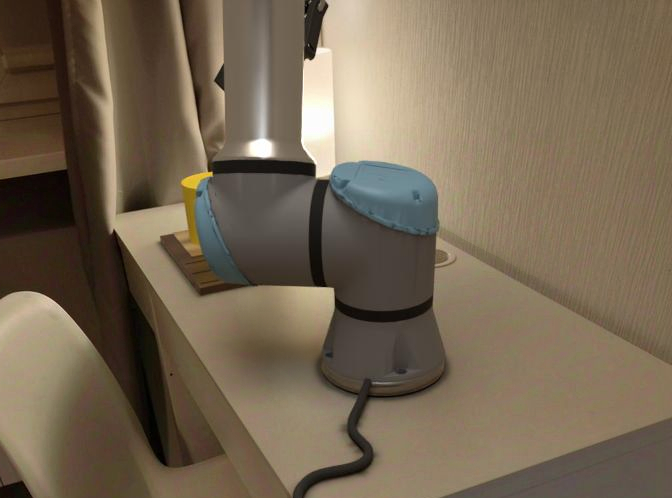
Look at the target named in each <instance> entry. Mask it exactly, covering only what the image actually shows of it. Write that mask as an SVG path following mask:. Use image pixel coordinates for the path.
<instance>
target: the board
mask: <svg viewBox="0 0 672 498" xmlns="http://www.w3.org/2000/svg"><path fill="white" fill-rule="evenodd" d="M159 239H160V243H161V244H162V246H163V247H164V248H165V250H166V251H167V252H168V254H169V255H170V256H171V258H172V259H173V261H174V262H175V263H176V264H177V266H178V267H179V268H180V270H181V271H182V272H183V274H184V276H185V277H186V278H187V279H188V280H189V282H190V283H191V284H192V286H193V287H194V288H195V290H196V291H197V292H198V293H199V295H201V296H204V295H207V294H208V295H209V294H212V293H217V292H223V291H226V290H232V289H235V288H240V287H246V286H247V285H245V284H234V283H226V282H224V281H221V280H220V279H218V278H217V277H216V276H215V275H214V274H213V273H212V271H211V270H210V268H209V267H208V264H207V262H206V261H205V259H204V256H203V254H202V251H201V248H200V245H196V244H194V243H192V242H191V241H190V237H189V231H188V229H185V230H181V231H180V230H179V231H174V232H172V233H169V234H162V235H159Z"/></svg>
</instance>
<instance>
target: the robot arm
mask: <svg viewBox="0 0 672 498" xmlns="http://www.w3.org/2000/svg"><path fill="white" fill-rule="evenodd" d="M329 5H330V4H329V3H328V2H327V1H326V0H222V42H223V43H222V45H223V47H222V48H223V63H222V65H221V67H220V69H218V72H217V74H216V75H215V78H214V79H213V82H214V83H215V85H217V86H218V88H220V89H221V90H222V91H223V92H224V93H223V94H224V128H225V129H224V134H225V139H224V140H225V141H224V144H223V146H222V147H221V148H220V149H219V150H218V152H217V153H216V154H215V155H214V156H213V157H212V160H211V164H212V165H211V169H212V171H211V172H212V174H213V175H212V177H211V176H209V177H207V178H206V179H203V180H202V181H201V182H200V183H199V184H198V186H197V189H196V197H197V198H196V199H195V204H194V211H195V223H196V230H197V235H198V240H199V244H200V248H201V251H202V254H203V256H204V259H205V261H206V262H207V264H208V267H209V268H210V270H211V271H212V273H213V274H214V275H215V276H216V277H217V278H218V279H220V280H221V281H224V282H226V283H234V284H245V285H246V286H249V287H252V288H255V287H259V286H265V287H266V286H269V287H298V288H299V287H300V288H301V287H303V288H331V289H333V300H334V307H333V313H332V315H331V319H330V321H329V326H328V328H327V332H326V335H325V338H324V341H323V346H322V349H321V353H320V354H321V355H320V356H321V370H322V373H323V375H324V376H325V378H326V379H327V380H328V381H329V382H330V383H331V384H333V385H335V386H336V387H338V388H340V389H342V390H346V391H347V392H351V393H354V394H358V395H357V397H356V400H355V402H354V404H353V407H352V409H351V410H350V412H349V415H348V416H347V417H348V418H347V421H346V422H347V423H346V425H347V426H346V428H347V431H348V435H349V436H350V437H351V439H352V440H353V442H355V443H356V444H357V445H358V446H359V447H360V448H361V449H362V451H363V455H362V456H361V457H360V458H359V459H356V460H354V461H351V462H346V463H343V464H336V465H332V466H331V465H330V466H326V467H323V468H319V469H316V470H313V471H311V472H309V473H307V474H306V475H305V476H303V477H302V478H301V480H300V481H299V482H298V483H297V484H296V486H295V487H294V489H293V492H292V498H303V497H304V493H305V491H306V490H307V489H308V487H309V486H310V485H312V484H313V483H314V482H316V481H319V480H321V479H325V478H328V477H329V478H330V477H334V476H339V475H345V474H350V473H353V472H356V471H360V470H361V469H364V468H365V467H366V466H368V465H369V464H370V462H371V461H372V460H373V457H374V447H373V446H372V444H371V443H370V442H369V441H368V440H367V439H366V438H365V437H364V436H363V435H362V434H361V433H360V432H359V430H358V428H357V421H358V419H359V416H360V414H361V412H362V410H363V408H364V406H365V403H366V400H367V397H368V396H373V397H392V396H400V395H405V394H410V393H415V392H417V391H420V390H423V389H425V388H427V387H429V386H431V385H432V384H434V383H436V381H437V380H438V379H440V377H442V375H443V373H444V370H445V360H446V350H445V349H446V348H445V345H444V343H443V338H442V336H441V332H440V328H439V326H438V325H439V324H438V321H437V319H436V314H435V311H434V294H435V293H434V292H435V274H436V273H435V272H436V256H437V255H436V252H437V235H438V232H439V230H440V225H441V224H440V219H439V193H438V189H437V186H436V184H435V183H434V182H433V180H432V179H431V178H430V177H429V176H427V175H426V174H424V173H423V172H421V171H418V170H417V169H414V168H412V167H409V166H406V165H402V164H399V163H394V162H388V161H380V160H368V159H367V160H366V159H365V160H363V159H362V160H359V161H350V160H349V161H345V162H341V163H339V164H336V165H335V166H333V168H332V169H331V170H332V171H331V172H330V174H329V177H328V178H327V179H326V178H317V160H315V157H313V156H312V155H311V153H310V152H309V150H308V149H306V147H305V145H304V90H305V89H304V88H305V87H304V85H305V83H304V82H305V80H304V79H305V62H306V60H308V61H310V62H311V61H313V60H315V58H316V55H317V50H318V45H319V40H320V35H321V31H322V26H323V20H324V17H325V15H326V14H327V10H329V9H328V8H329Z"/></svg>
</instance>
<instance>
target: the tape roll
mask: <svg viewBox="0 0 672 498" xmlns="http://www.w3.org/2000/svg"><path fill="white" fill-rule="evenodd" d="M212 175H213V174H212V171H208V172H207V171H206V172H200V173H195V174H192V175H189V176H187V177H185V178H183V179H182V180H181V182H180V184H181V190H182V197H183V205H184V210H185V211H184V212H185V216H186V222H187V230H188V231H189V237H190V241H191V242H192V243H194V244H196V245H200V244H199V240H198V235H197V230H196V223H195V211H194V204H195V199H196V198H197V197H196V189H197V186H198V184H199V183H200V182H201V181H202V180H203V179H206V178H207V177H209V176H211V177H212Z"/></svg>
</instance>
